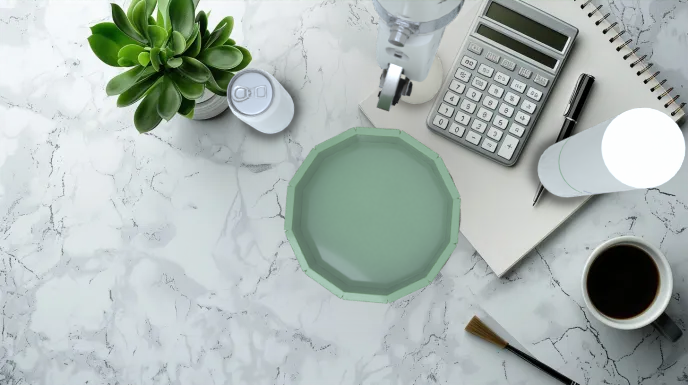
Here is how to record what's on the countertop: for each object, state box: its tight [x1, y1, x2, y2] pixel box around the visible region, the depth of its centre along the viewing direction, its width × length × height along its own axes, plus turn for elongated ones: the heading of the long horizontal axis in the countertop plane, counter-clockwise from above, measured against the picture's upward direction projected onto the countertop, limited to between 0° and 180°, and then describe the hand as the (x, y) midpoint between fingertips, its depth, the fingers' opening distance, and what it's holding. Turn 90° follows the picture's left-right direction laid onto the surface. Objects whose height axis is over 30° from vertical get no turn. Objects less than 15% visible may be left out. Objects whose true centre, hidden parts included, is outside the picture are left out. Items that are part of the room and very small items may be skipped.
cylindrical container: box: [537, 107, 686, 198], centre depth 67 cm, size 7×7×25 cm
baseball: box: [399, 55, 444, 105], centre depth 78 cm, size 7×7×7 cm
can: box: [226, 67, 295, 135], centre depth 77 cm, size 6×6×12 cm
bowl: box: [283, 126, 462, 305], centre depth 54 cm, size 15×15×5 cm
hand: (412, 45), depth 64 cm, fingers open, 9 cm apart
